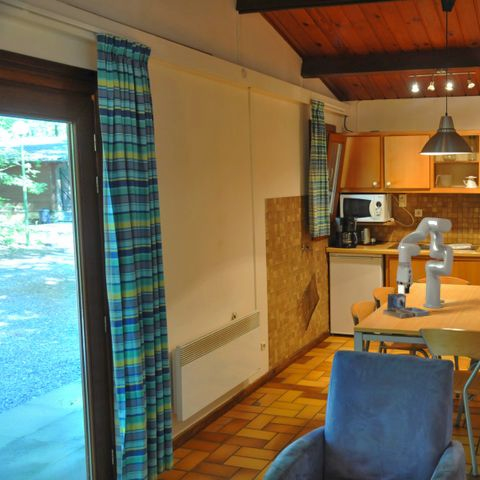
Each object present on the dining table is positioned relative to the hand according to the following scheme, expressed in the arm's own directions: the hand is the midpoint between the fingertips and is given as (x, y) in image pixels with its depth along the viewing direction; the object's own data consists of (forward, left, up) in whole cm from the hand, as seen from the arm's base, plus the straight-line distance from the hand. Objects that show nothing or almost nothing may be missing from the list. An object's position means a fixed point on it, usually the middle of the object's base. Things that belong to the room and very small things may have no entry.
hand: (403, 292), depth 449 cm
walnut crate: (+4, 0, -15) cm, 15 cm away
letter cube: (0, 0, 0) cm, 0 cm away
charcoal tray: (-8, +2, -15) cm, 17 cm away
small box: (-8, -14, -15) cm, 23 cm away
